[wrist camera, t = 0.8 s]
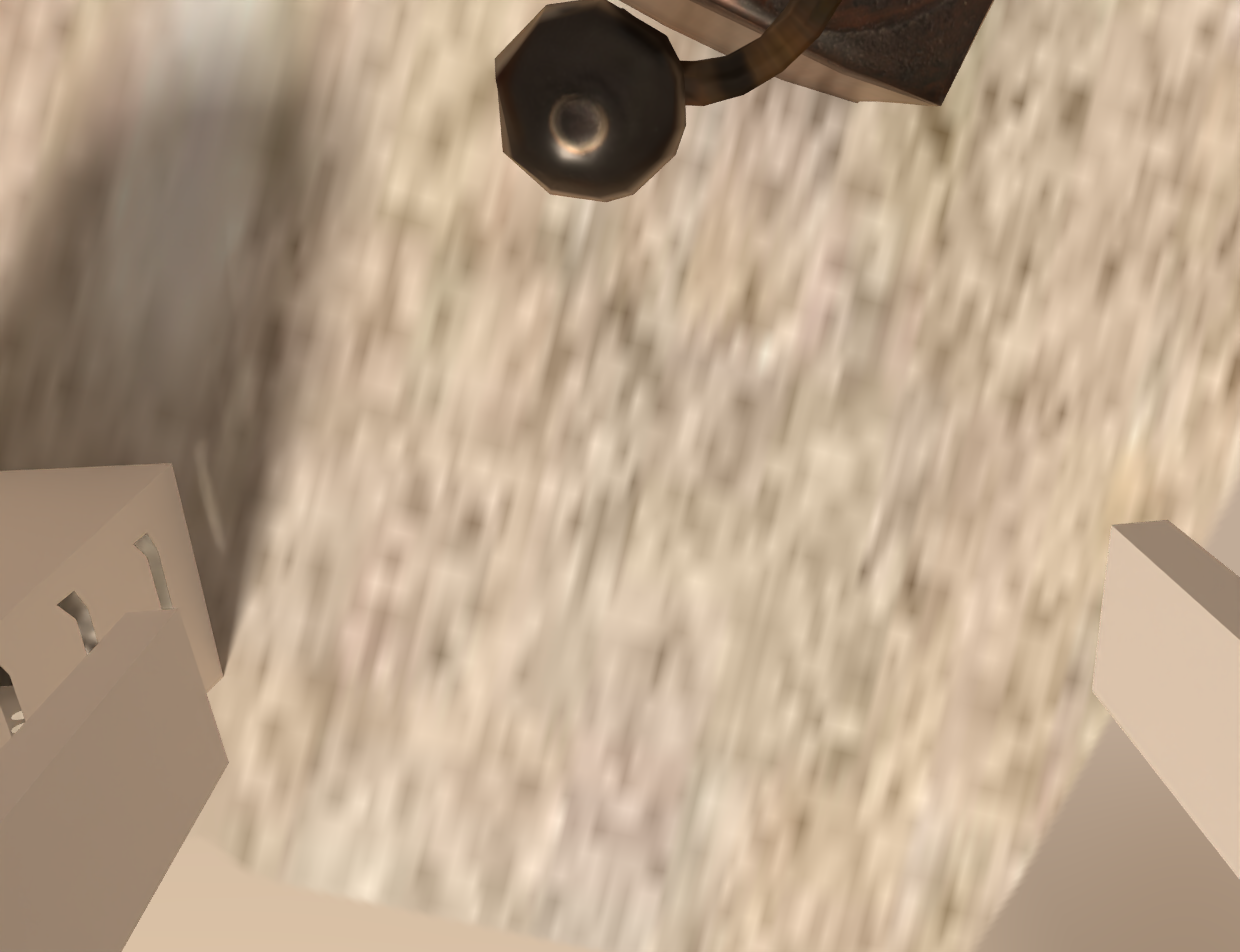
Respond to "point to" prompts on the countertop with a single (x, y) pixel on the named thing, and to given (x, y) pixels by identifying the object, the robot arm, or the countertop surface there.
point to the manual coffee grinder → (703, 74)
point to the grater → (87, 571)
